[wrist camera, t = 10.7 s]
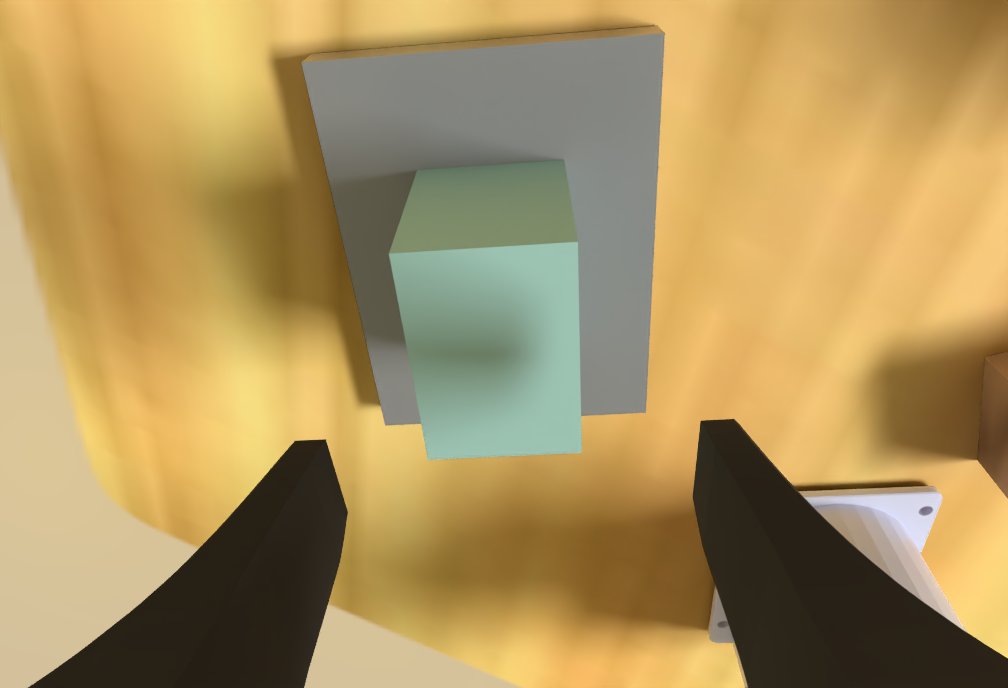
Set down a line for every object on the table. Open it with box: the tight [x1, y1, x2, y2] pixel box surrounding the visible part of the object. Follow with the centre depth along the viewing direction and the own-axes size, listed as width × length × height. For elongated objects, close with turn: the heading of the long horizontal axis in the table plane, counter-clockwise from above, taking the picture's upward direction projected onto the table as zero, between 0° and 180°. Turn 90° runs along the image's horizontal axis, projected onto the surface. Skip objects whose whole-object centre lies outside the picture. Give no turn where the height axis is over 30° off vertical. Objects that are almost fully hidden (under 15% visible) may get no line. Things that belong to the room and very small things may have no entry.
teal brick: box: [389, 160, 582, 460], centre depth 18 cm, size 6×4×5 cm, turn 4°
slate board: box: [301, 26, 665, 425], centre depth 21 cm, size 12×9×1 cm
